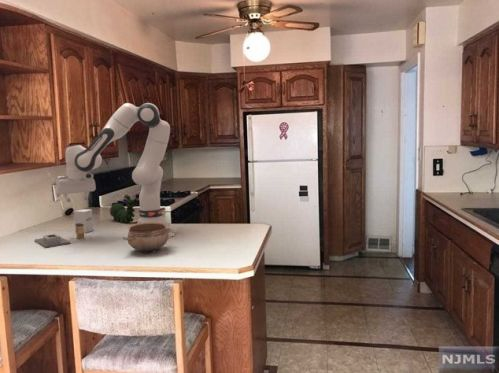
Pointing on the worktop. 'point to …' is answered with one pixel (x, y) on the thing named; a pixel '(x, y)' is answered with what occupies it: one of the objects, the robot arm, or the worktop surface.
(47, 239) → the base
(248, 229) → the worktop surface
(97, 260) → the worktop surface
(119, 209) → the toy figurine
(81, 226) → the brown wooden block
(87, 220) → the supplement box
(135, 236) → the cooking pot
